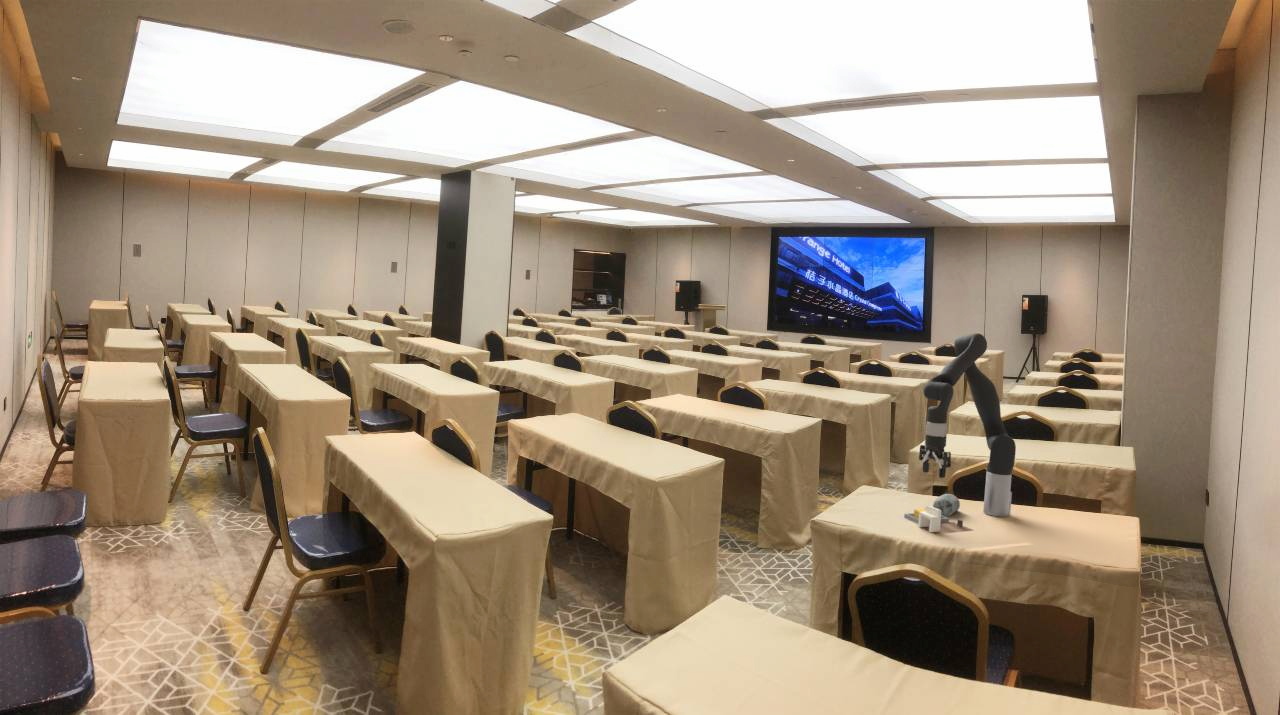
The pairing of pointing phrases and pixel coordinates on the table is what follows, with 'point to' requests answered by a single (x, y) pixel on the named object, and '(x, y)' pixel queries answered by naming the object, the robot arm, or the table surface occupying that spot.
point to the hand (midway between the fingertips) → (933, 474)
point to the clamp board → (950, 527)
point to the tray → (912, 518)
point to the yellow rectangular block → (916, 512)
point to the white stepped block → (930, 514)
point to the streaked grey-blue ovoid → (947, 504)
